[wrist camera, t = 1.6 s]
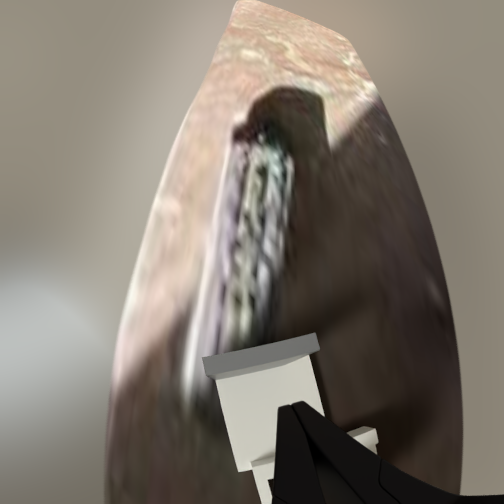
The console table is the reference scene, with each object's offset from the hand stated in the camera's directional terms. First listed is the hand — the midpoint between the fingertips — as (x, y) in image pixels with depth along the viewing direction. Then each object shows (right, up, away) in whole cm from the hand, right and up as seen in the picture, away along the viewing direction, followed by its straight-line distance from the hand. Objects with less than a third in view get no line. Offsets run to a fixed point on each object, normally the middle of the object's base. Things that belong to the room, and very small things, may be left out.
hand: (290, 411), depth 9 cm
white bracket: (+2, -9, +11) cm, 14 cm away
